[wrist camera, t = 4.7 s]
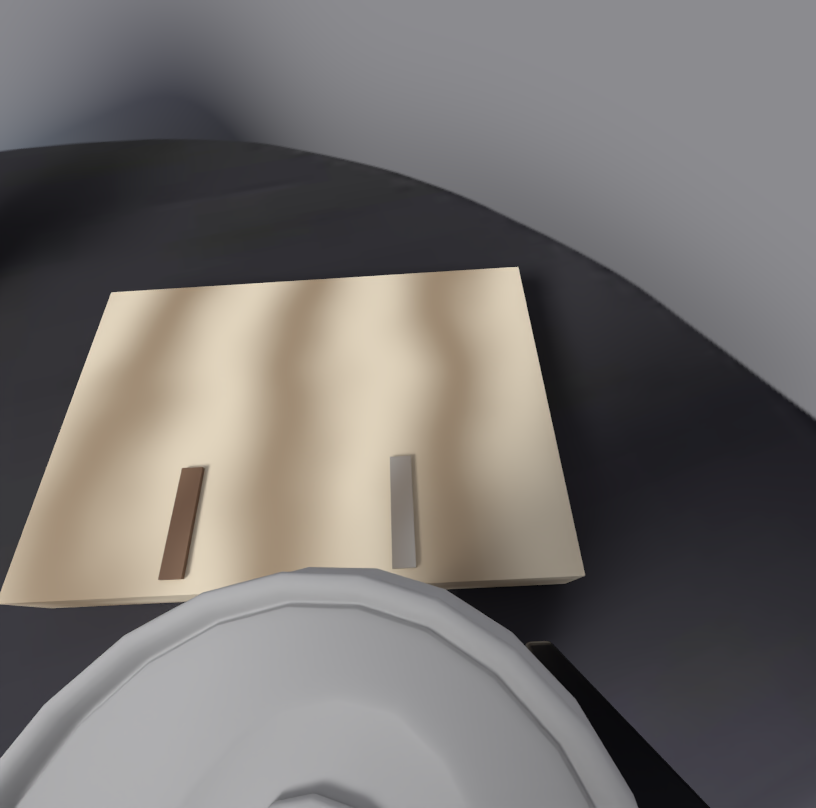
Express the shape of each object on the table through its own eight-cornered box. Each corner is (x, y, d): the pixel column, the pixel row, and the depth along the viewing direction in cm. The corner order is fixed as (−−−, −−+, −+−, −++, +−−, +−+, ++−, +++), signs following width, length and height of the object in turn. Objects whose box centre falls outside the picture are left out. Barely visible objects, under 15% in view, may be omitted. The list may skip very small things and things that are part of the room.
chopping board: (509, 301, 23) (518, 263, 21) (565, 583, 17) (587, 575, 14) (141, 324, 24) (108, 289, 21) (52, 608, 17) (-10, 603, 15)
